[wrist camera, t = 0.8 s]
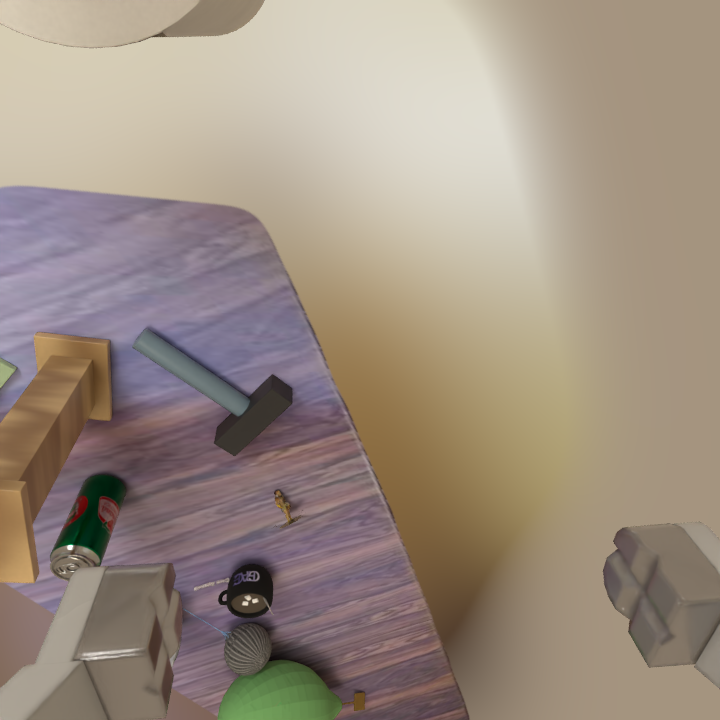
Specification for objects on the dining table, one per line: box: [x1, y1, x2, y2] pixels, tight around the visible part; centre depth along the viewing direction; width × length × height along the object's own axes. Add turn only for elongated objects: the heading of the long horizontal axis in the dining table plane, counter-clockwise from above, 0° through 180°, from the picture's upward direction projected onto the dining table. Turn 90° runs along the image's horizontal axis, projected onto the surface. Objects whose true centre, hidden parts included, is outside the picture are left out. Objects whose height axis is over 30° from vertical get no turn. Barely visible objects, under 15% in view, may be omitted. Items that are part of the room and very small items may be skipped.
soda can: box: [50, 474, 126, 581], centre depth 61 cm, size 5×5×12 cm
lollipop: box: [182, 608, 272, 676], centre depth 79 cm, size 10×20×7 cm
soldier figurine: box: [273, 491, 302, 530], centre depth 69 cm, size 2×1×4 cm
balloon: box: [218, 660, 365, 720], centre depth 87 cm, size 14×14×30 cm
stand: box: [0, 332, 112, 583], centre depth 49 cm, size 7×10×22 cm
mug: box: [194, 564, 273, 618], centre depth 74 cm, size 12×6×8 cm, turn 104°
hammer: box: [132, 329, 292, 456], centre depth 59 cm, size 16×10×3 cm, turn 45°
